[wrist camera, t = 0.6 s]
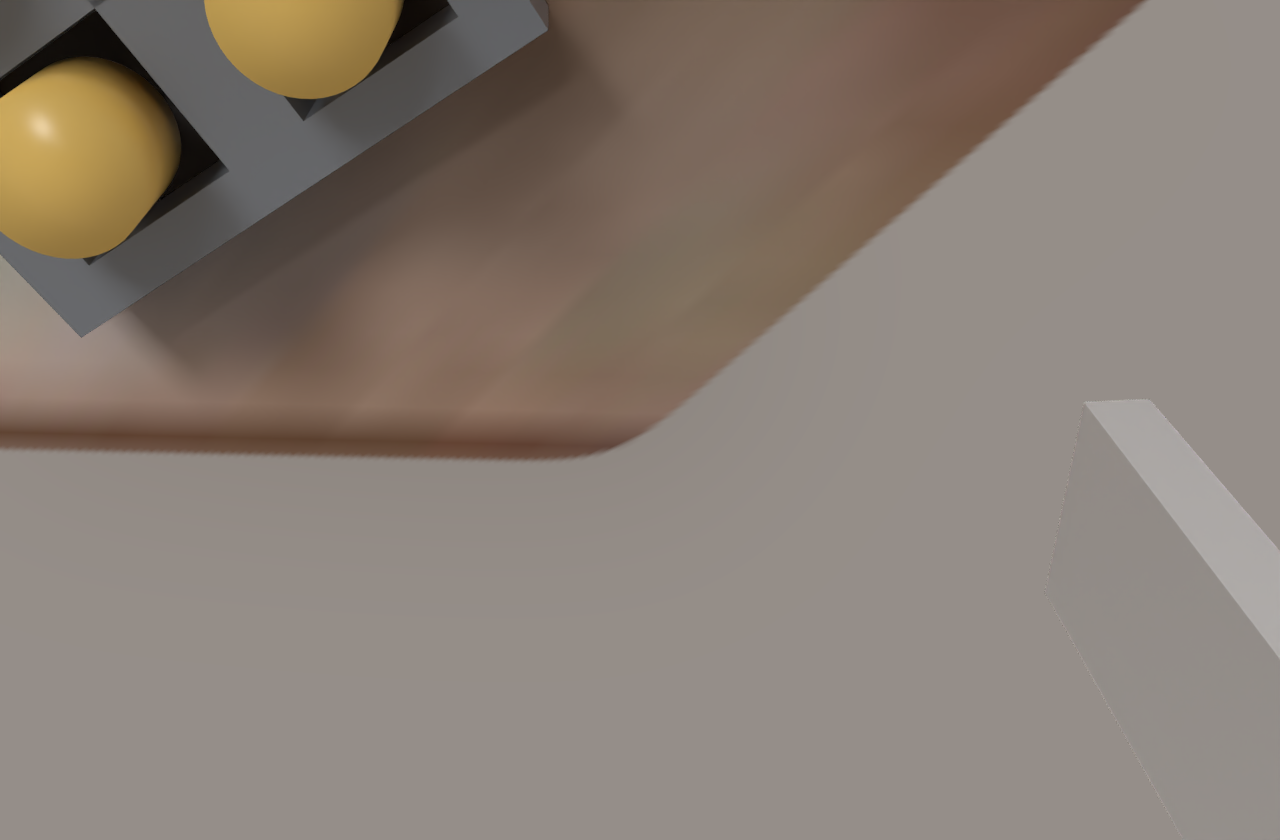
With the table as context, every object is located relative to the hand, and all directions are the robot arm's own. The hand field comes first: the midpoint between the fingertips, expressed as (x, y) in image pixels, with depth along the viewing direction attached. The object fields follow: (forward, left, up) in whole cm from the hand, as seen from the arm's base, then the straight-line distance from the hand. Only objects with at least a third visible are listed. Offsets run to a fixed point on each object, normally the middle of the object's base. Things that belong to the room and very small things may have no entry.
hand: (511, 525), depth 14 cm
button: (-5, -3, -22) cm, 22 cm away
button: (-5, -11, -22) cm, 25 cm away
